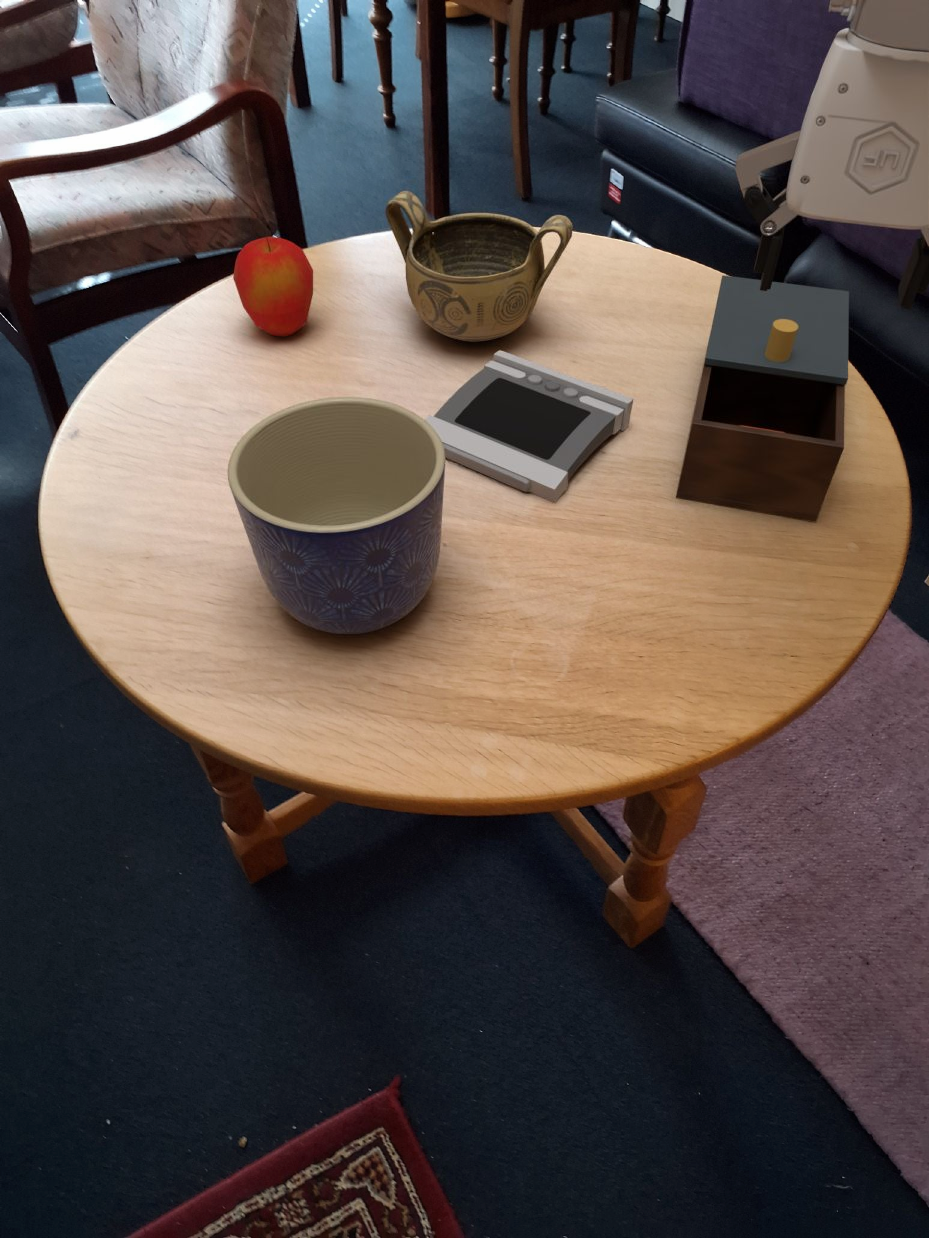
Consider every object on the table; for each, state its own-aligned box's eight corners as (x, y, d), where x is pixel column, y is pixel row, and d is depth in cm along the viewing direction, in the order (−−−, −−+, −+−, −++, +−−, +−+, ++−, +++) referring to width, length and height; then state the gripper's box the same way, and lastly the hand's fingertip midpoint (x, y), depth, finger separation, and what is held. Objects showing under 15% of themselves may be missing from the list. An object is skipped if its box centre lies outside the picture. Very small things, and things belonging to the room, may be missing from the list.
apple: (239, 350, 109) (218, 254, 100) (253, 312, 115) (234, 218, 106) (315, 350, 109) (301, 254, 100) (325, 312, 115) (312, 219, 106)
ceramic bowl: (582, 314, 114) (594, 194, 103) (535, 383, 104) (542, 258, 92) (424, 281, 120) (419, 164, 109) (364, 343, 110) (352, 221, 98)
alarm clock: (633, 398, 95) (555, 468, 86) (626, 436, 99) (550, 507, 89) (499, 350, 102) (413, 409, 92) (497, 386, 105) (413, 447, 96)
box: (820, 419, 98) (845, 346, 92) (815, 522, 87) (844, 447, 80) (695, 400, 101) (711, 327, 94) (675, 497, 90) (691, 423, 83)
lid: (846, 298, 98) (858, 261, 95) (845, 385, 87) (859, 347, 84) (720, 281, 101) (728, 246, 98) (703, 364, 89) (712, 327, 86)
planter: (377, 506, 89) (363, 372, 78) (487, 601, 80) (489, 466, 69) (226, 584, 82) (187, 449, 71) (329, 697, 73) (303, 564, 62)
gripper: (764, 22, 51) (707, 300, 64) (1094, 45, 48) (965, 334, 61) (772, -12, 56) (717, 253, 69) (1072, 7, 53) (956, 282, 66)
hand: (833, 291), depth 65 cm, fingers open, 9 cm apart
